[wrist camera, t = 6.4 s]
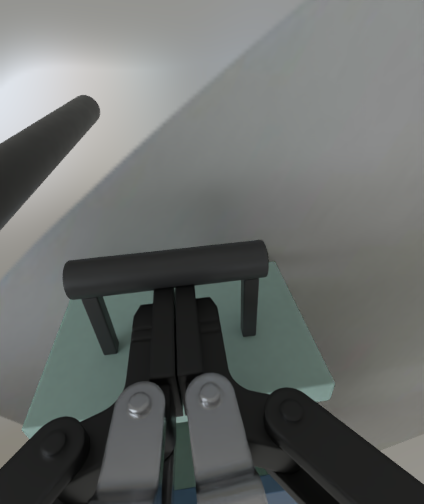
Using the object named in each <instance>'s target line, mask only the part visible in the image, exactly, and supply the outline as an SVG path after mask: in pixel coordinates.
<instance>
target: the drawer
mask: <svg viewBox="0 0 424 504" xmlns="http://www.w3.org/2000/svg"><path fill="white" fill-rule="evenodd" d="M63 285H64V289H65V292H66V295H67V296H68V298H69V299H70V301H69V304H68V307H67V309H66V312H65V315H64V317H63V320H62V323H61V325H60V328H59V331H58V333H57V336H56V339H55V341H54V344H53V347H52V349H51V352H50V355H49V357H48V360H47V363H46V365H45V368H44V371H43V374H42V376H41V379H40V382H39V384H38V387H37V390H36V392H35V395H34V398H33V400H32V403H31V406H30V408H29V411H28V414H27V416H26V419H25V422H24V424H23V427H22V431H23V432H24V433H25V435H26V436H28V438H29V439H30V438H31V437H32V436H33V435H34V434H35V433H36V432H37V431H38V430H39V429H40V428H41V427H42V426H44V425H45V424H46V423H48V422H50V421H51V420H53V419H56V418H59V417H64V416H68V417H73V418H76V419H77V420H78V421H79V422H81V421H83V420H85V419H87V418H89V417H91V416H94V415H96V414H98V413H100V412H102V411H104V410H106V409H107V408H109V407H110V406H111V405H112V404H113V403H115V401H116V400H117V399H118V397H119V395H120V394H121V393H122V391H123V389H124V387H125V383H126V375H127V367H128V359H129V350H130V342H131V334H132V325H133V317H134V315H135V313H136V312H137V310H138V308H139V307H140V305H143V304H152V303H153V293H154V289H161V288H170V287H174V290H175V287H178V286H187V285H194V286H195V296H196V298H204V297H210V298H211V299H212V300H213V302H214V303H215V304H216V305H217V307H218V313H219V319H220V324H221V331H222V335H223V341H224V347H225V352H226V358H227V363H228V369H229V372H230V374H231V376H232V378H233V379H234V380H235V381H236V382H237V383H238V384H239V385H240V386H242V387H243V388H246V389H248V390H251V391H256V392H261V393H266V394H271V393H272V392H273V391H275V390H277V389H279V388H284V387H289V388H294V389H297V390H300V391H302V392H303V393H305V394H306V395H307V396H309V397H310V398H311V399H313V400H314V401H315V402H320V401H326V400H329V399H330V398H331V395H332V392H333V389H334V386H335V382H334V380H333V378H332V376H331V374H330V372H329V370H328V368H327V366H326V364H325V362H324V360H323V358H322V356H321V354H320V352H319V350H318V348H317V346H316V344H315V342H314V340H313V338H312V336H311V334H310V332H309V330H308V328H307V326H306V324H305V322H304V320H303V317H302V315H301V313H300V311H299V309H298V307H297V305H296V303H295V301H294V299H293V297H292V295H291V293H290V291H289V289H288V287H287V285H286V283H285V281H284V279H283V277H282V275H281V273H280V271H279V269H278V267H277V265H276V263H275V262H274V261H273V262H269V260H268V253H267V249H266V246H265V244H264V242H263V241H262V240H256V241H246V242H237V243H228V244H219V245H209V246H200V247H191V248H182V249H172V250H163V251H154V252H145V253H135V254H126V255H117V256H107V257H98V258H89V259H80V260H70V261H68V262H66V264H65V266H64V269H63ZM255 469H256V471H257V472H258V474H259V476H262V475H268V473H267V471H266V470H265V469H263V468H259V467H255ZM191 487H196V483H195V474H194V466H193V458H192V450H191V442H190V434H189V426H188V418H187V416H185V411H184V406H183V416H181V417H176V462H175V483H174V490H179V489H185V488H191Z"/></svg>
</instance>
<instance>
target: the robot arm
mask: <svg viewBox="0 0 424 504" xmlns="http://www.w3.org/2000/svg"><path fill="white" fill-rule="evenodd" d="M183 406H184V411H185V416H187V418H188V426H189V434H190V442H191V450H192V458H193V466H194V474H195V483H196V496H197V504H268V501H267V497H266V494H265V490H264V487H263V484H262V481H261V478H260V476H259V474H258V472H257V471H256V469H255V467H259V468H263V469H265V470H266V471H267V473H268V474H269V475H270V476H271V477H272V478H273V479H274V480H275V481H276V482H277V483H278V484H279V485H280V486H281V487H282V488H283V489H284V490H285V491H286V492H287V493H288V494H289V495H290V496H291V497H292V498H293V499H294V500H295V501H296V502H297V503H298V504H424V484H422V483H421V482H420V481H418V480H417V479H416V478H414V477H413V476H412V475H411V474H409V473H408V472H407V471H405V470H404V469H403V468H401V467H400V466H399V465H397V464H396V463H395V462H393V461H392V460H391V459H390V458H388V457H387V456H386V455H384V454H383V453H381V452H380V451H379V450H378V449H377V448H375V447H374V446H373V445H371V444H370V443H369V442H367V441H366V440H365V439H363V438H362V437H361V436H360V435H358V434H357V433H356V432H354V431H353V430H352V429H350V428H349V427H348V426H346V425H345V424H344V423H343V422H341V421H340V420H339V419H337V418H336V417H335V416H333V415H332V414H331V413H330V412H328V411H327V410H326V409H324V408H323V407H322V406H320V405H319V404H318V403H316V402H315V401H314V400H313V399H311V398H310V397H309V396H307V395H306V394H305V393H303V392H302V391H300V390H297V389H294V388H289V387H284V388H279V389H277V390H275V391H273V392H272V393H271V394H266V393H261V392H256V391H251V390H248V389H246V388H243V387H242V386H240V385H239V384H238V383H237V382H236V381H235V380H234V379H233V378H232V376H231V374H230V372H229V369H228V363H227V358H226V352H225V347H224V341H223V335H222V331H221V324H220V319H219V313H218V307H217V305H216V304H215V303H214V302H213V300H212V299H211V298H210V297H204V298H196V296H195V286H194V285H187V286H178V287H175V290H174V287H170V288H161V289H154V293H153V303H152V304H143V305H140V307H139V308H138V310H137V312H136V313H135V315H134V317H133V325H132V334H131V342H130V350H129V359H128V367H127V375H126V383H125V387H124V389H123V391H122V393H121V394H120V395H119V397H118V399H117V400H116V401H115V403H113V404H112V405H111V406H110V407H109V408H107V409H106V410H104V411H102V412H100V413H98V414H96V415H94V416H91V417H89V418H87V419H85V420H83V421H81V422H79V421H78V420H77V419H76V418H73V417H68V416H64V417H59V418H56V419H53V420H51V421H50V422H48V423H46V424H45V425H44V426H42V427H41V428H40V429H39V430H38V431H37V432H36V433H35V434H34V435H33V436H32V437H31V438H30V439H29V440H28V441H27V442H26V444H24V445H23V446H22V448H21V449H20V450H19V451H18V452H17V453H16V454H15V455H14V456H13V457H12V458H11V459H10V460H9V461H8V462H7V463H6V464H5V465H4V466H3V467H2V468H1V469H0V504H174V483H175V462H176V417H181V416H183Z"/></svg>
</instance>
